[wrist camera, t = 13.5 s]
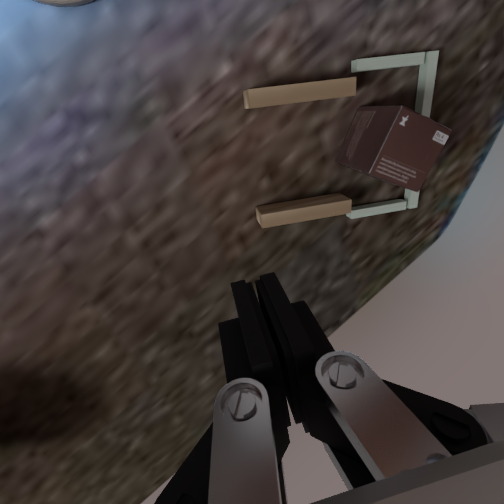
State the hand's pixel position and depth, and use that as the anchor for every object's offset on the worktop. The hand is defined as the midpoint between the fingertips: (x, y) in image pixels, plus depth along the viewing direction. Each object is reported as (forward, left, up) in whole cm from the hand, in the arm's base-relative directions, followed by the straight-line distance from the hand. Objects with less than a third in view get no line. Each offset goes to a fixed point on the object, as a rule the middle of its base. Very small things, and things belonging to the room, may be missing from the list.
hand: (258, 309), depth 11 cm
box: (-2, +17, -23) cm, 29 cm away
